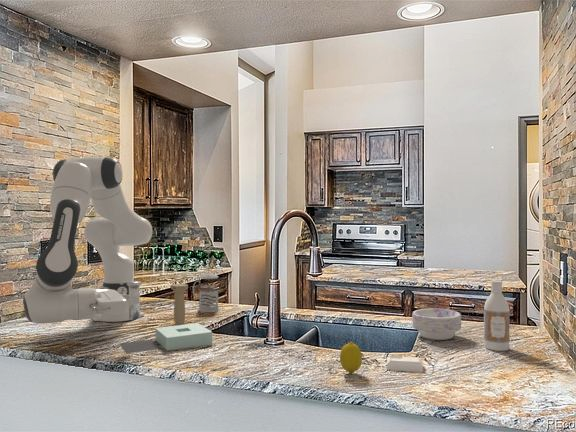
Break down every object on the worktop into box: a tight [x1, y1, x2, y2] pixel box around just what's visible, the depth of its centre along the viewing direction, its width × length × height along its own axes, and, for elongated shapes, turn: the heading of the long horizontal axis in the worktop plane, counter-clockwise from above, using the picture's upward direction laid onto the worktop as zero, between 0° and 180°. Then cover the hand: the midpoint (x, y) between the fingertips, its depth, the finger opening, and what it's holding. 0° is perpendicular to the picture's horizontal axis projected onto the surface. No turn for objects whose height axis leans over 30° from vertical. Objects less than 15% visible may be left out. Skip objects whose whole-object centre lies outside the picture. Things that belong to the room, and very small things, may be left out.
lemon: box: [339, 341, 363, 374], centre depth 124 cm, size 6×6×8 cm
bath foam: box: [483, 279, 511, 352], centre depth 146 cm, size 7×7×20 cm
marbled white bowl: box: [411, 308, 462, 341], centre depth 160 cm, size 15×15×8 cm
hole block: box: [154, 322, 213, 351], centre depth 154 cm, size 14×14×4 cm
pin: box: [127, 280, 142, 320], centre depth 147 cm, size 4×4×11 cm
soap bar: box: [386, 355, 424, 373], centre depth 128 cm, size 5×9×3 cm, turn 78°
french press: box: [192, 249, 221, 313], centre depth 206 cm, size 10×12×25 cm
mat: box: [118, 338, 162, 354], centre depth 150 cm, size 12×10×1 cm
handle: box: [170, 283, 189, 326], centre depth 175 cm, size 5×6×15 cm
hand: (137, 298), depth 147 cm, fingers closed on pin, 3 cm apart
